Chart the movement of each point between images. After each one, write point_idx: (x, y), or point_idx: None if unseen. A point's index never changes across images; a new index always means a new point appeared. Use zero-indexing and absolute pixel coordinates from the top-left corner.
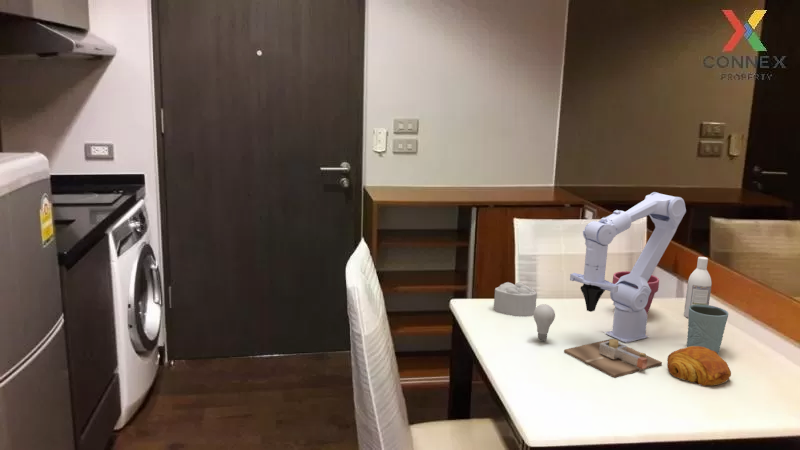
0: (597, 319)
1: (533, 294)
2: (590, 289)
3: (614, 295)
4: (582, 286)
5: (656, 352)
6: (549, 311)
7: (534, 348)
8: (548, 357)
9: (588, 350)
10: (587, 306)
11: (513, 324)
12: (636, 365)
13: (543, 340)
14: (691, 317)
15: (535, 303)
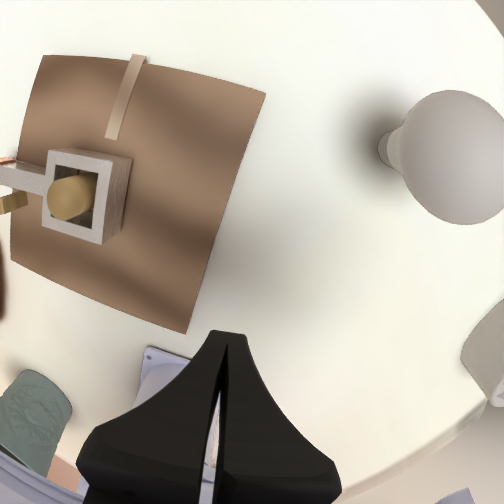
0: (303, 435)
1: (501, 381)
2: (146, 473)
3: (203, 500)
4: (320, 499)
5: (66, 332)
6: (449, 123)
7: (372, 60)
8: (286, 15)
9: (182, 162)
10: (235, 349)
11: (498, 236)
12: (16, 162)
13: (382, 136)
14: (15, 436)
15: (478, 372)
